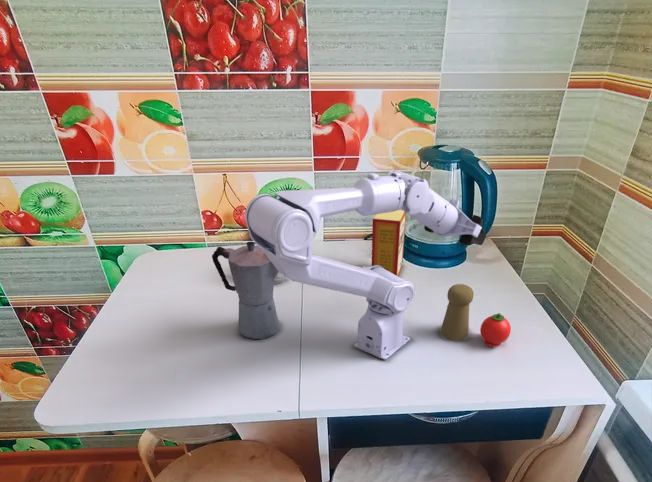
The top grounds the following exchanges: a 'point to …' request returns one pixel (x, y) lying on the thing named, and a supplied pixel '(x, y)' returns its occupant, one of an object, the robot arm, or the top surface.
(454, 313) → the tan rounded tall piece
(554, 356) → the top surface
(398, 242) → the baking soda box
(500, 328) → the tomato
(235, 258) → the moka pot
